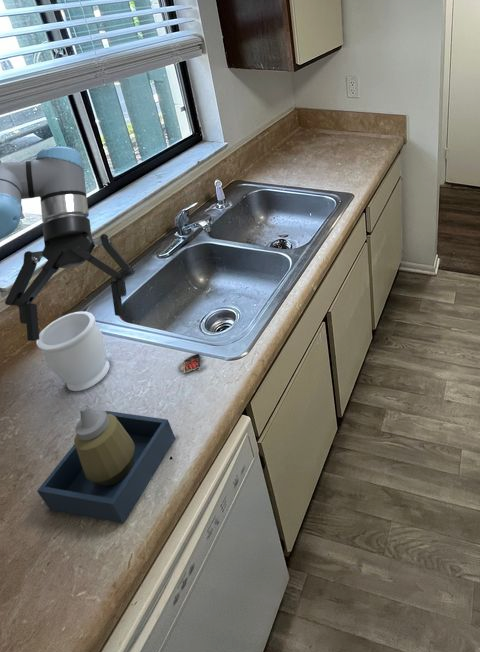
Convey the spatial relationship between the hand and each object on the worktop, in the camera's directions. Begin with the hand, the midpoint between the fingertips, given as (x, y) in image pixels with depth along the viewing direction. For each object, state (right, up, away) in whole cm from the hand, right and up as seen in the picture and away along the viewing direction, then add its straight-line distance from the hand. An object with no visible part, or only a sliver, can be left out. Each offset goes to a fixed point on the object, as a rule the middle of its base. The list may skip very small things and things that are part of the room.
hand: (77, 327), depth 82 cm
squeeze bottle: (+7, -27, 0) cm, 28 cm away
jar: (-12, -19, +19) cm, 30 cm away
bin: (+7, -28, 0) cm, 29 cm away
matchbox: (+11, -18, +21) cm, 30 cm away
